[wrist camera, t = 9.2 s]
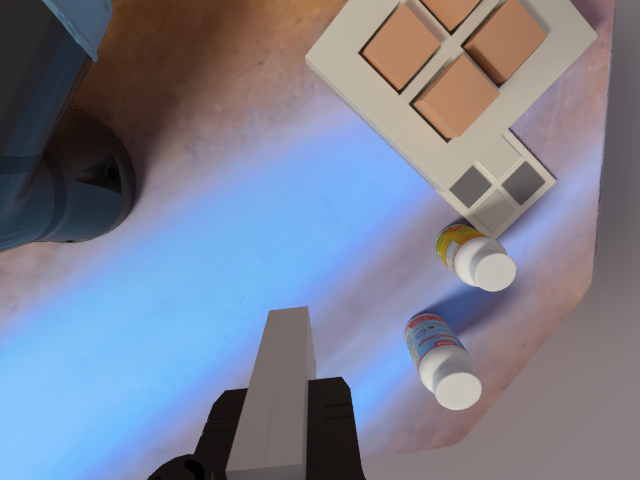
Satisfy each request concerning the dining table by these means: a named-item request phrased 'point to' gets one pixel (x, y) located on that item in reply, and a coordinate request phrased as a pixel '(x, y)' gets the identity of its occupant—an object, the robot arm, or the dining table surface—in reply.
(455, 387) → the pill bottle
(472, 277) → the supplement bottle
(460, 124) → the button
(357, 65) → the board
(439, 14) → the button
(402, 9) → the button
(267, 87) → the dining table surface
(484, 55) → the button
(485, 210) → the card
